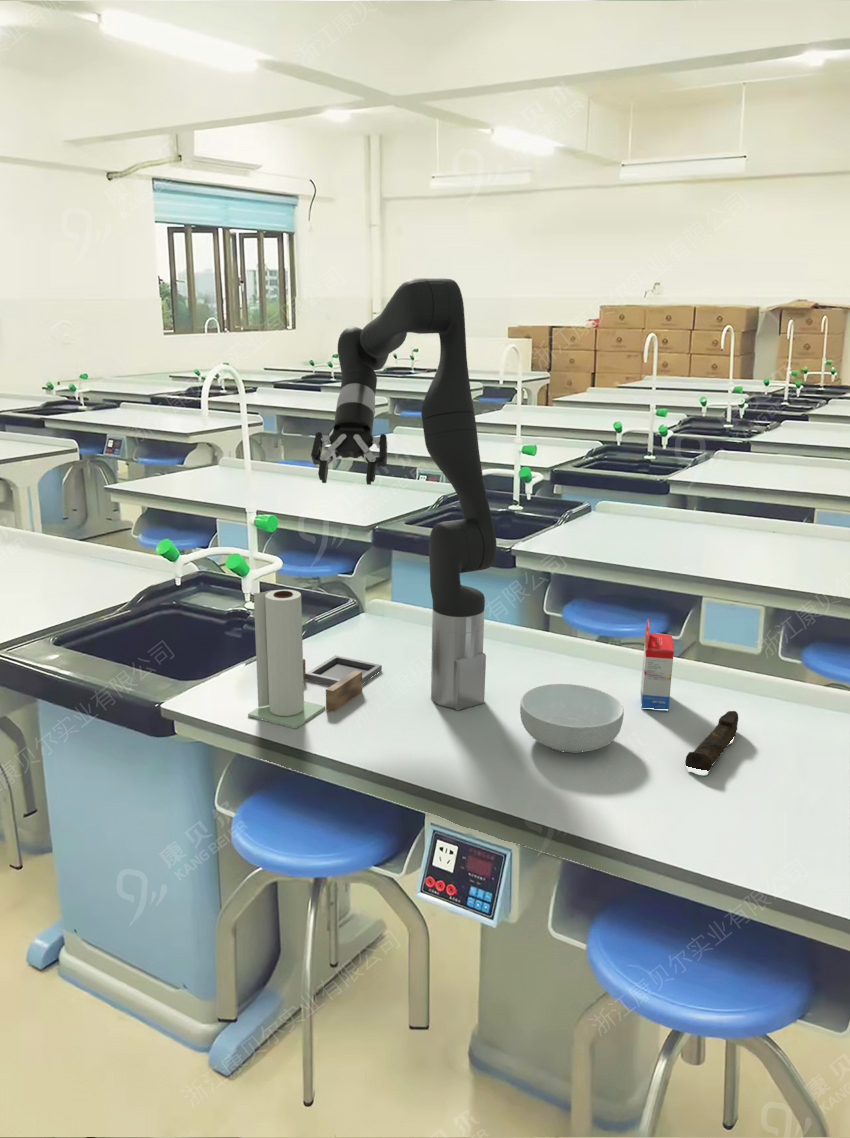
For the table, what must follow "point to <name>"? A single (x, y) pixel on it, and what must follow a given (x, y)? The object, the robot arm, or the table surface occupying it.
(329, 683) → the gray square tray
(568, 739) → the cereal bowl
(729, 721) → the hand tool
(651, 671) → the ink box
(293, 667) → the paper towel roll
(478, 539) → the robot arm
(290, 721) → the sage pad
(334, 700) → the walnut guide channel
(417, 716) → the table surface
